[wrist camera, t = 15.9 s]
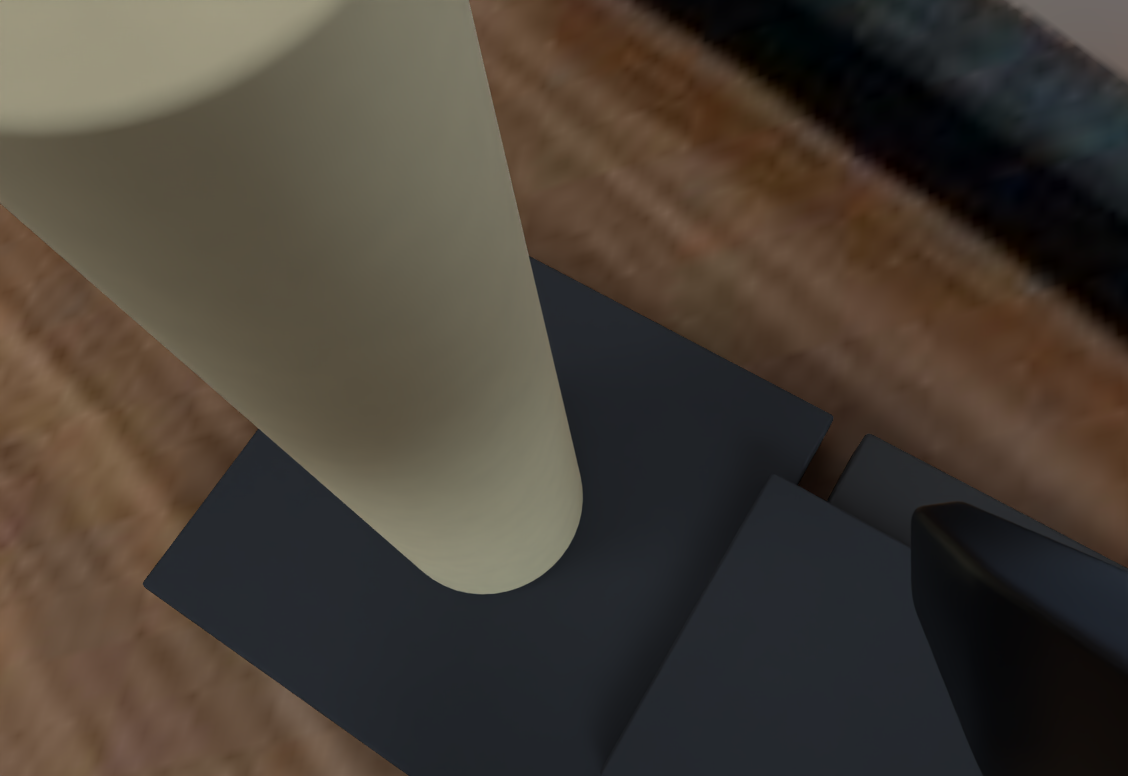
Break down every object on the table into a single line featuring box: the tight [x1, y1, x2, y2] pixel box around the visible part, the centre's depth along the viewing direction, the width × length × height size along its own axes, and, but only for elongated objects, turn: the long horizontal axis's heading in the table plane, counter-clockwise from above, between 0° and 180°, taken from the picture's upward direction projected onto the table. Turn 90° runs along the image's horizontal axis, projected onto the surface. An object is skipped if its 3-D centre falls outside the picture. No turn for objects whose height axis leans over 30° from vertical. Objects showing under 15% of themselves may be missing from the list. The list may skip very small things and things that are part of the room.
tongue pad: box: [0, 0, 983, 776], centre depth 10 cm, size 12×8×13 cm, turn 58°
